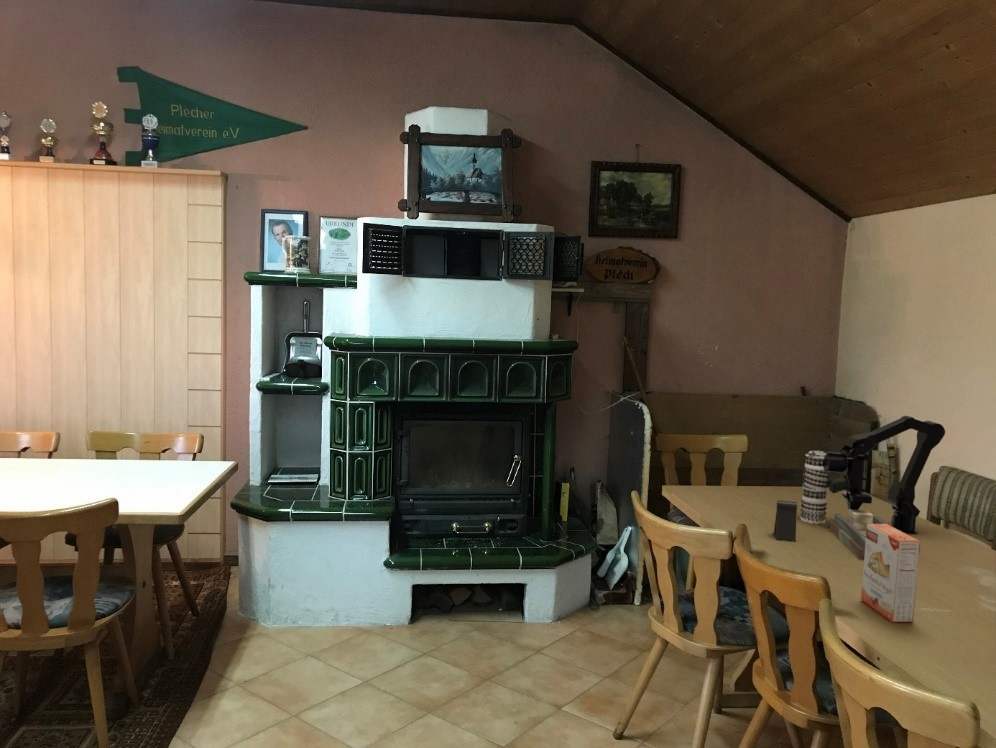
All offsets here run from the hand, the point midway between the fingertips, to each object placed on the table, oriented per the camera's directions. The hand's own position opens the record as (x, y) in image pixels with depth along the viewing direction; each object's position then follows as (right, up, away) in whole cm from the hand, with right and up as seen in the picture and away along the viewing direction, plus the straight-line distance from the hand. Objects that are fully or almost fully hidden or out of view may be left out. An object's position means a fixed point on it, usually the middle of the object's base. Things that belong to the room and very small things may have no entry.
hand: (851, 516), depth 266 cm
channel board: (-3, -6, -18) cm, 19 cm away
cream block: (-1, -2, -8) cm, 9 cm away
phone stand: (-28, -5, -13) cm, 31 cm away
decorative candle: (-10, -3, +8) cm, 13 cm away
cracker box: (-25, -11, -72) cm, 77 cm away
